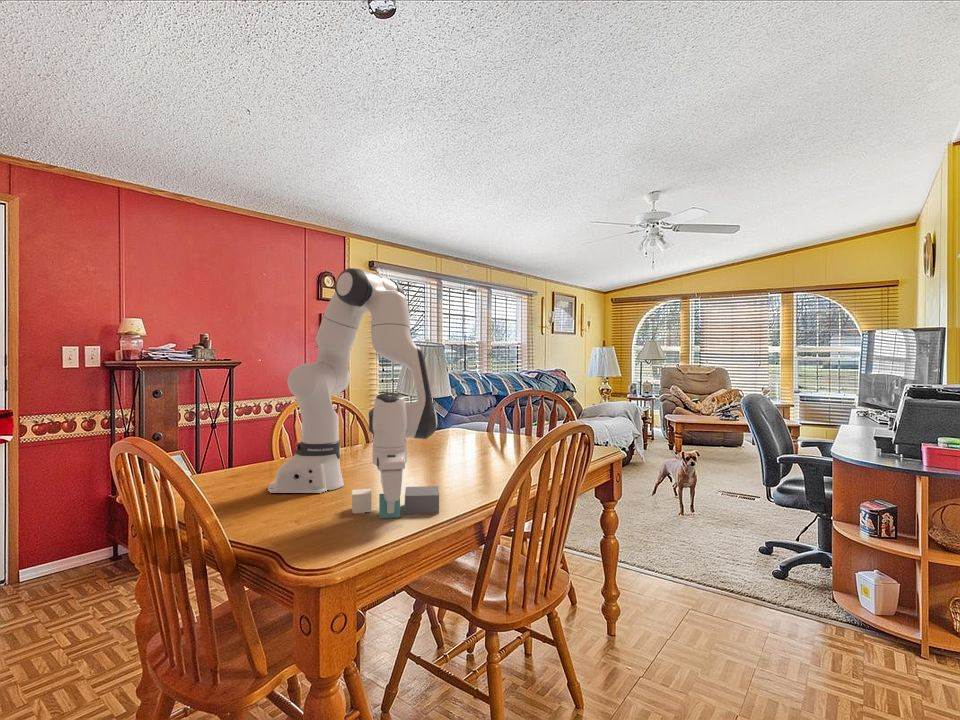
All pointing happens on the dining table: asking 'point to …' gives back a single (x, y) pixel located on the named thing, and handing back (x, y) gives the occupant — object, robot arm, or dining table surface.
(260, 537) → the dining table surface
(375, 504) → the dining table surface
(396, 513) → the teal cube
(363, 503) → the cream cube
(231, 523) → the dining table surface
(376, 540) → the dining table surface
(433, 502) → the charcoal base block
